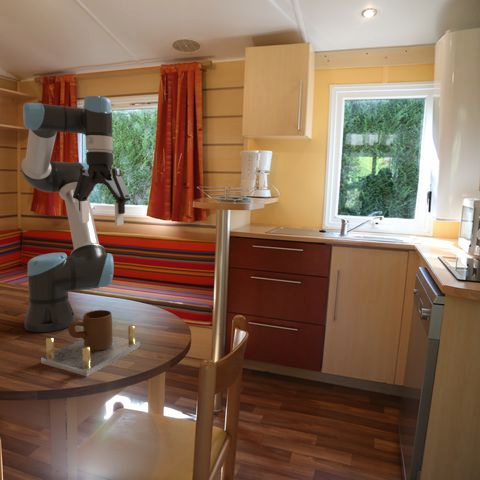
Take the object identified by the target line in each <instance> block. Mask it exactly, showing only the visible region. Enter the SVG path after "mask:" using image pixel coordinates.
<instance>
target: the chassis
mask: <svg viewBox="0 0 480 480" xmlns="http://www.w3.org/2000/svg"><path fill="white" fill-rule="evenodd" d="M127 329H128V330H127V333H128V336H127V337H128V338H124V337H119V336H115V335H112V339H113V341H112V345H111V346H110V347H109V348H107V349H105V350H101V351H90V347H89V346H85V347H84V339H83V338H81V339H80V340H78V341H76V342H74V343H71V344H69V345H67V346H65V347H63V348H59V349H58V350H56V351H55V342H54V341H55V339H54V336H50V337H48V336H47V337H46V338H45V347H46V349H45V350H46V355H44V356H42V357H41V358H40V359H41V360H40V361H41V362H40V363H41V364H43V365H46V366H49V367H52V368H53V367H54V368H56V369H59V370H60V369H61V370H64V371H67V372H70V373H73V374H77V375H81V376H83V377H84V376H85V377H89V376H91V375H92V374H94V373H96V372H99V370H101V369H104V368H105V367H107V366H109V365H111V364H112V363H114V362H115V361H118V360H120V359H121V358H123V357H125V356H126V355H128V354H131V353H132V352H133V350H134V351H135V350H137V349H139V348H140V347H141V341H137V340H136V326H135V325H134V324H130V325H128V326H127Z"/></svg>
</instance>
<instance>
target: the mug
mask: <svg viewBox="0 0 480 480" xmlns="http://www.w3.org/2000/svg"><path fill="white" fill-rule="evenodd" d="M82 317H83V318H82V319H75V321H73V322H71V324H70V325H69V327H67V328H68V330H67V331H68V333H69V335H70V336H71V337H72V338H73V339H80V338H81V339H84V347H85V346H89V347H90V351H101V350H105V349H107V348H109V347H110V346H111V345H112V341H113V339H112V336H113V317H112V312H111V311H110V310H107V309H106V310H105V309H104V310H103V309H97V310H90V311H88V312H86V313H84V314H83V316H82ZM77 326H80V327H82V329H83V331H82V330H81V331H76V329H75V328H76V327H77Z"/></svg>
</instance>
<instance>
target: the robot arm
mask: <svg viewBox="0 0 480 480" xmlns="http://www.w3.org/2000/svg"><path fill="white" fill-rule="evenodd" d="M83 99H84V100H83V107H73V106H66V105H65V106H64V105H57V104H56V105H55V104H49V103H48V104H47V103H40V102H37V103H36V102H25V103H24V104H23V107H22V119H23V120H22V121H23V127H24V128H25V129H27V130H28V136H27V143H26V144H27V145H26V153H25V158H24V157H23V159H22V161H21V164H20V165H21V166H20V170H21V174H22V177H23V179H24V180H25V181H26V182H27V183H28V184H29V185H30V186H31V187H32V188H34V189H36V190H37V191H41V192H44V193H58V194H59V197H60V198H61V199H62V200H63V201H64V203H65V208H66V209H65V210H66V214H67V219H68V225H69V231H70V234H71V240H72V246H73V250H72V251H71V252H70V256H68V255H67V253H65V252H60V251H59V252H51V253H45V254H40V255H37V256H35V257H32V258H30V260H28V262H27V272H26V276H27V283H28V285H27V286H28V300H29V301H28V308H27V311H26V315H25V318H24V320H23V322H24V329H25V330H26V331H28V332H31V333H32V332H33V333H49V332H56V331H61V330H64V329H66V328H69V325H70V324H71V322H73V321H75V320H76V315H75V312H74V311H73V307H72V304H71V302H70V300H69V292H75V291H76V292H77V291H83V290H85V291H86V290H92V289H100V288H105V287H108V286H110V285H111V284H112V282H113V278H114V270H115V269H114V268H115V267H114V257H113V254H112V253H109V252H106V249H105V247H104V246H103V245H100V242H99V238H98V237H99V236H98V232H97V229H96V228H97V227H96V224H95V219H94V215H93V210H92V207H91V202H90V198H89V197H90V196H91V195H92V192H93V191H94V189H95V186H96V185H97V184H102V185H104V186H106V187H107V189H108V191H109V192H110V194H111V196H113V198H114V200H115V202H114V226H124V214H125V213H126V206H125V204H126V202H128V201H131V199H132V198H131V196H130V193H129V190H128V189H127V186H126V183H125V182H124V179H123V177H122V176H123V175H122V169H121V168H117V167H115V168H112V166H113V165H114V154H113V151H114V143H113V142H114V141H113V139H114V138H113V107H112V101H111V99H110V98H108V97H106V96H102V95H86V96H85V97H84V98H83ZM58 133H71V134H82V135H85V150H86V152H85V160H86V161H85V162H79V161H75V162H67V161H51V159H52V154H53V150H54V145H55V142H56V138H57V134H58Z"/></svg>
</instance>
